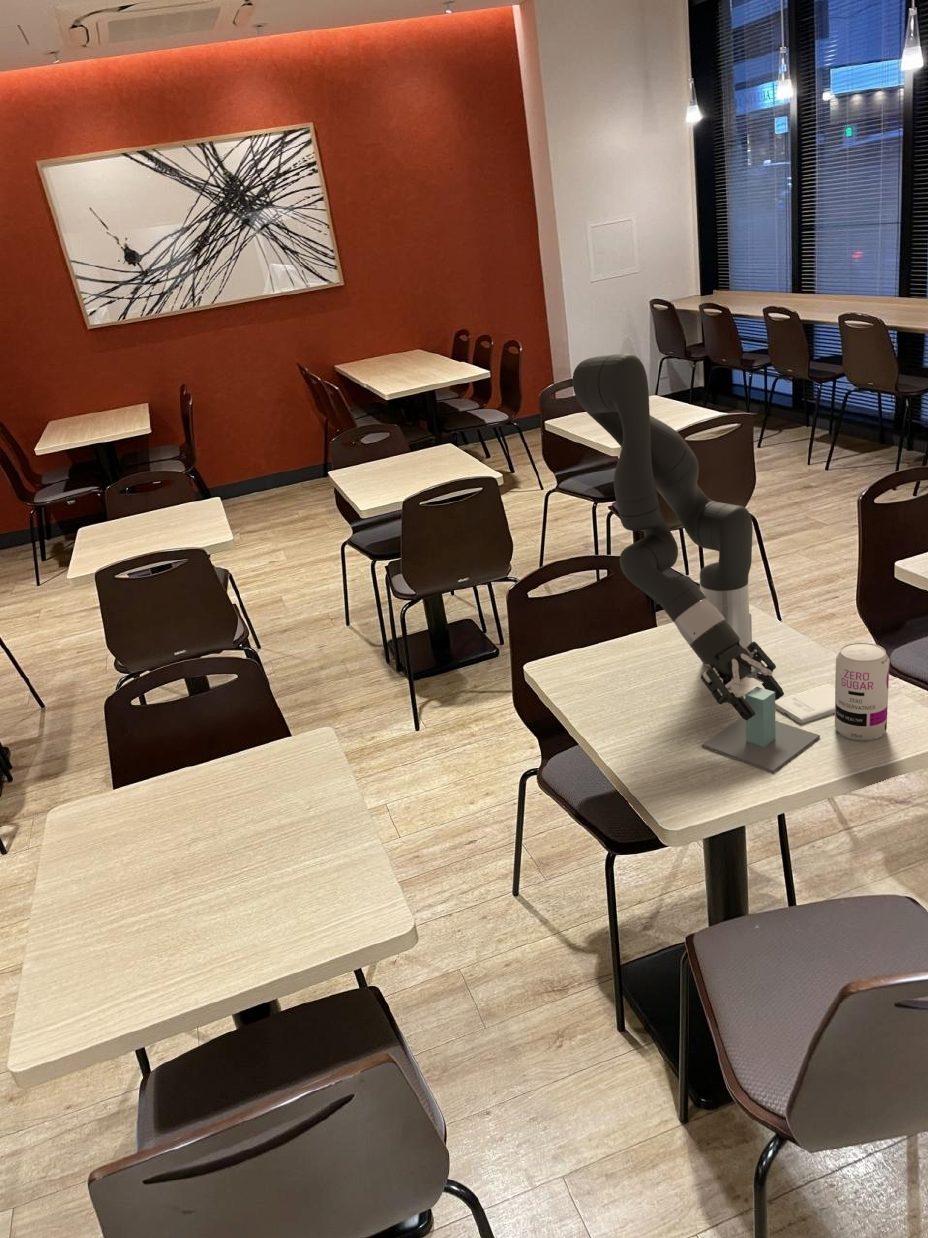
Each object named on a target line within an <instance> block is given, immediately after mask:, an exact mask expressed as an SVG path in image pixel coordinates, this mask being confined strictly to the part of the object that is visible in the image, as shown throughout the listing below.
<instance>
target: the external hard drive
mask: <svg viewBox="0 0 928 1238" xmlns="http://www.w3.org/2000/svg"><path fill="white" fill-rule="evenodd" d="M775 710H778V711H780V712H781V713H783V714H784V715H786V716H788V718H791V719H792V720H793V721H796V722H797V723H799V724H800V725H802V724H806V723H808V722H811V721H814V720H818V719H821V718H823V717H827V716H830V715H832V714H835V686H834V685H832V684H830V683H826V684H823V685H819V686H816V687H813V688H810V689H807V690H804V691H802V692H798V693H794V694H792V695H788V696H786V697H783V698H782V697H781V698H779V699H778V700H775Z"/></svg>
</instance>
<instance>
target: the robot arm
mask: <svg viewBox="0 0 928 1238" xmlns="http://www.w3.org/2000/svg"><path fill="white" fill-rule="evenodd" d="M572 388H573V392H574V396H575V398H576V400H577V402H578V404H579V405H580V407H581V408H582V409H583V410H584V411H585V412H586V413H587V414H588V415H589V417H591V418H592V419H593V420H594V421H596V423H597V424H598V425H600V426H601V427H602V428H603V429H604V430H605V431H606V432H607V433H608V434H609V435H610V436H611V437H612V438H613V439H614V440H615V442H616V443H617V444H618V445H619V446H620V448H621V449H620V453H619V456H618V460H617V463H616V466H615V470H614V477H613V489H614V490H613V491H614V497H615V501H616V507H617V510H618V515H619V519H620V522H621V526H622V527H623V528H624V529H625V530H628V531H631V532H638V531H642V532H643V535H644V537H643V538H641V539H639V540H637V541H636V542H634V543H632V544H630V545H627V546H626V547H625V548H624V549H622V551H621V552H620V556H619V565H620V568H621V570H622V573H623V574H624V575H625V576H624V577H626V578H627V580H628V581H629V582H631V583H632V584H633V585H634V586H635V587H637V588H638V589H640V590H641V591H642V592H643V593H645V595H647V596H648V597H650V598H651V599H652V600H653V601H654V602H656V603H657V604H659V605H660V606H661V608H662V609H663V610H664V612H665V613H666V614H667V616H668V617H669V618H670V619H671V621H672V622H673V623H674V625H675V626H676V628H677V630H678V632H679V633H680V635H681V637H683V639H684V640H685V641H686V643H687V644H688V645H689V646H690V648H691V649H692V651H693V652H694V653H695V654H696V655H697V657H698V658H699V660H700V661H701V662H702V663H703V665H705V666H706V667H707V668H708V669H706V671H704V672H703V673H701V675H700V679H701V681H702V683H704V685H705V686H706V688H707V690H708V691H709V693H710V694H711V695H712V697H713V698H714V699H715V700H716V701H715V702H717V704H718V705H723V704H730V705H731V706H732V707H733V708H734V709H735V711H736V712H737V714H738V715H739V716H740V718H741V717H742V718H743V719H745V720H749V719H750V718H751V717H753V716H754V715H755V712H754V711H753V709H752V708H751V707H750V705H749V704H748V703H747V701H746V700H745V697H744V696H743V695H741V691H740V685H741V680H743V679H745V678H748V679H754V680H756V681H758V682H761V686H762V688H763V689H767V690H770V691H773V692H775V701H776V700H779V699H781V698H782V697H784V695H785V693H784V690H783V688H782V687H781V686H780V684H779V683H778V682H777V680H776V679H775V677H773V672H774V671H775V670H776V669H777V666H776V664H775V663H774V661H773V660H772V659H771V658H770V657H769V656H768V655H767V653H766V652H765V651H764V650H763V648H761V646H760V645H759V644H758V643H757V642H756V641H753V630H752V629H753V628H752V626H753V625H752V614H751V613H750V599H749V597H750V595H749V594H750V593H749V588H750V587H749V575H750V571H751V567H752V557H753V555H752V553H753V533H754V532H753V531H754V529H753V528H754V527H753V520H752V516H751V513H750V511H749V510H748V508H746V507H745V506H742V505H737V504H732V503H725V502H719V501H715V500H712V499H711V498H709V496H707V495H706V494H705V492H703V490H702V489H701V488H700V486H699V485H698V482H699V481H698V480H699V472H700V467H699V461H698V457H697V456H696V454H695V453H694V451H693V449H691V447H690V445H688V443H687V442H686V440H685V438H683V436H681V435H680V433H679V432H678V431H676V430H675V429H674V428H673V427H672V426H669V425H668V424H666V423H664V422H663V421H661V420H659V419H658V418H656V417H654V416H652V415H651V414H650V410H651V409H650V393H649V392H650V391H649V380H648V376H647V372H646V369H645V365H644V363H643V362H642V361H641V359H640V358H639V357H637V355H635V354H632V353H618V354H617V353H616V354H608V355H598V356H597V355H596V356H592V357H589V358H586V359H584V360H582V361H580V363H578V364H577V365H576V367H575V368H574V371H573V374H572ZM658 493H659V495H660V497H662V498H663V500H664V501H665V503H667V505H668V507H669V508H671V510H672V511H673V512H674V514H675V516H676V517H677V519H678V521H679V522H680V524H681V526H682V527H683V529H684V531H685V533H686V534H687V536H688V537H689V538H690V540H691V541H692V542H693V543H694V544H695V545H697V546H699V547H700V548H702V549H707V550H710V551H711V550H712V551H715V552H718V561H717V562H712V563H710V564H709V563H708V565H705V566H704V567H702V568H701V570H700V571H699V586H698V585H697V584H696V583H695V581H694V580H693V579H692V578H691V577H690V576H688V575H680V576H675V577H670V576H668V575H666V574H664V572H666V571H668V570H669V569H672V567H674V566H675V564H676V562H677V560H678V556H679V547H678V543H677V541H676V538H675V537H674V535H673V533H672V532H671V529H670V528H669V525H668V523H667V521H666V519H665V518H664V515H663V514H662V512H661V507H660V503H659V498H658Z"/></svg>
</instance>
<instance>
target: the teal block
mask: <svg viewBox="0 0 928 1238" xmlns="http://www.w3.org/2000/svg"><path fill="white" fill-rule="evenodd" d="M744 699H745V700H746V701H747V703H748V704H749V705H750V707H751V708H752V709H753V711H754V712H755V715H754V716H753V717H751V718H750V719H749V720H746V741H748V742H751V743H754V744H756V745H759V746H762V747H765V746H766V745H768V744H769V743H770V742H772V741H773V740H774V739H776V730H775V721H776V708H775V701H776V700H775V692H773V691H770V690H767V689H765V688H764V687H760V686H755V687H754V688H753V689H751V690H750V691H748V692H747V693H746V694H744Z"/></svg>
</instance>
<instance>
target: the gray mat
mask: <svg viewBox="0 0 928 1238" xmlns="http://www.w3.org/2000/svg"><path fill="white" fill-rule="evenodd" d="M775 730H776V739H774V740H773V741H772V742H770V743H769V744H768V745H766V746H765V747H762V746H759V745H756V744H754V743H751V742H748V741H746V720H745V719H743V718H742V717H741V716H740V718H739V719H737V720H736V721H734V722H732V723H730V725H728V726H727V727H725V728H724V729H722V730H720V731H719V732H718V733H716V734H714V735H713V736H712V737H710V738H708V739H707V740H706V741H704V742H703V743H701V747H702V748H705V749H708V750H710V751H713V752H715V753H718V754H721V755H723V756H726V757H729V758H732V759H734V760H737V761H739V762H743V763H746V764H748V765H751V766H754V767H756V768H759V769H762V770H764V771H767V772H770V773H772V774H775V773H776V771H779V770H780V769H781V768H782V767H783V766H784V765H787V764H788V762H790V761H791V760H793V759H794V758H795V757H797V756H799V754H801V753H802V752H804V750H806V749H807V748H808V747H810V746H811V745H812V744H814V743H815V742H816V741H818V740H819V739H821V735H820V734H817V733H815V732H812V731H808V730H805V729H802V728H799V727H796V726H792V725H789V724H787V723H783V722H780V721H777V720H775Z"/></svg>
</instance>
